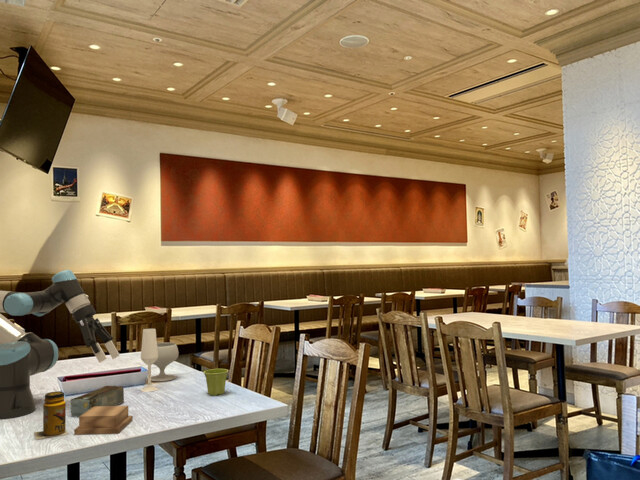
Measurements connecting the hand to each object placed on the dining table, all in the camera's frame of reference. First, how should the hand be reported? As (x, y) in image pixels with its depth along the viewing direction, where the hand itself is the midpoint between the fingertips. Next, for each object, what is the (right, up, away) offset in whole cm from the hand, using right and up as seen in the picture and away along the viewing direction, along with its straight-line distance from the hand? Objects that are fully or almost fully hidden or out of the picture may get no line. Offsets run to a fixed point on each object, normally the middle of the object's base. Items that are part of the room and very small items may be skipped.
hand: (110, 359), depth 193 cm
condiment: (-4, -15, -34) cm, 37 cm away
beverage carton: (-1, -16, -8) cm, 18 cm away
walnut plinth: (+10, -15, -29) cm, 34 cm away
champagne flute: (+8, -17, +19) cm, 27 cm away
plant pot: (+36, -16, +11) cm, 41 cm away
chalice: (+8, -18, +38) cm, 43 cm away
